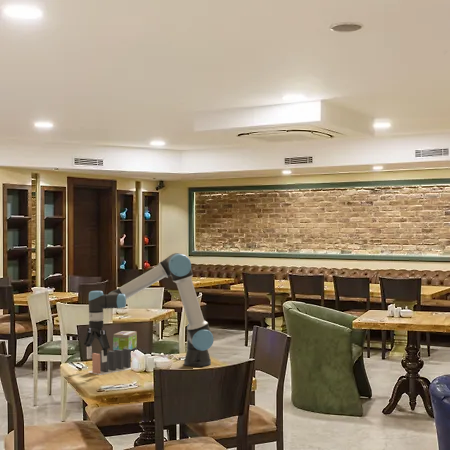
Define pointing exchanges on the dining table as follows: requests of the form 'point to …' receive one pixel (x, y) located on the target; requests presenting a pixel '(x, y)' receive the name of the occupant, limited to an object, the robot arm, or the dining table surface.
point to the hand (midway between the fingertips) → (96, 360)
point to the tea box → (125, 340)
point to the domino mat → (111, 371)
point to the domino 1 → (95, 363)
